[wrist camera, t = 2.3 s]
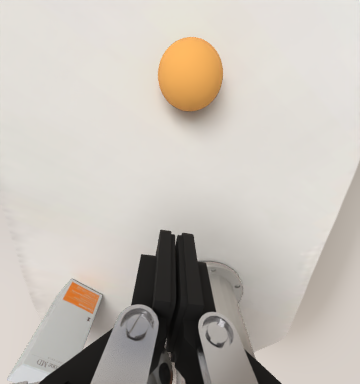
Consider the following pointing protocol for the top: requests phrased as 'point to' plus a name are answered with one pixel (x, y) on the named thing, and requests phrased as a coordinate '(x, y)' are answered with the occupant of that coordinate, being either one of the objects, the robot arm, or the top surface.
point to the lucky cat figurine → (162, 371)
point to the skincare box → (58, 333)
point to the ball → (190, 74)
